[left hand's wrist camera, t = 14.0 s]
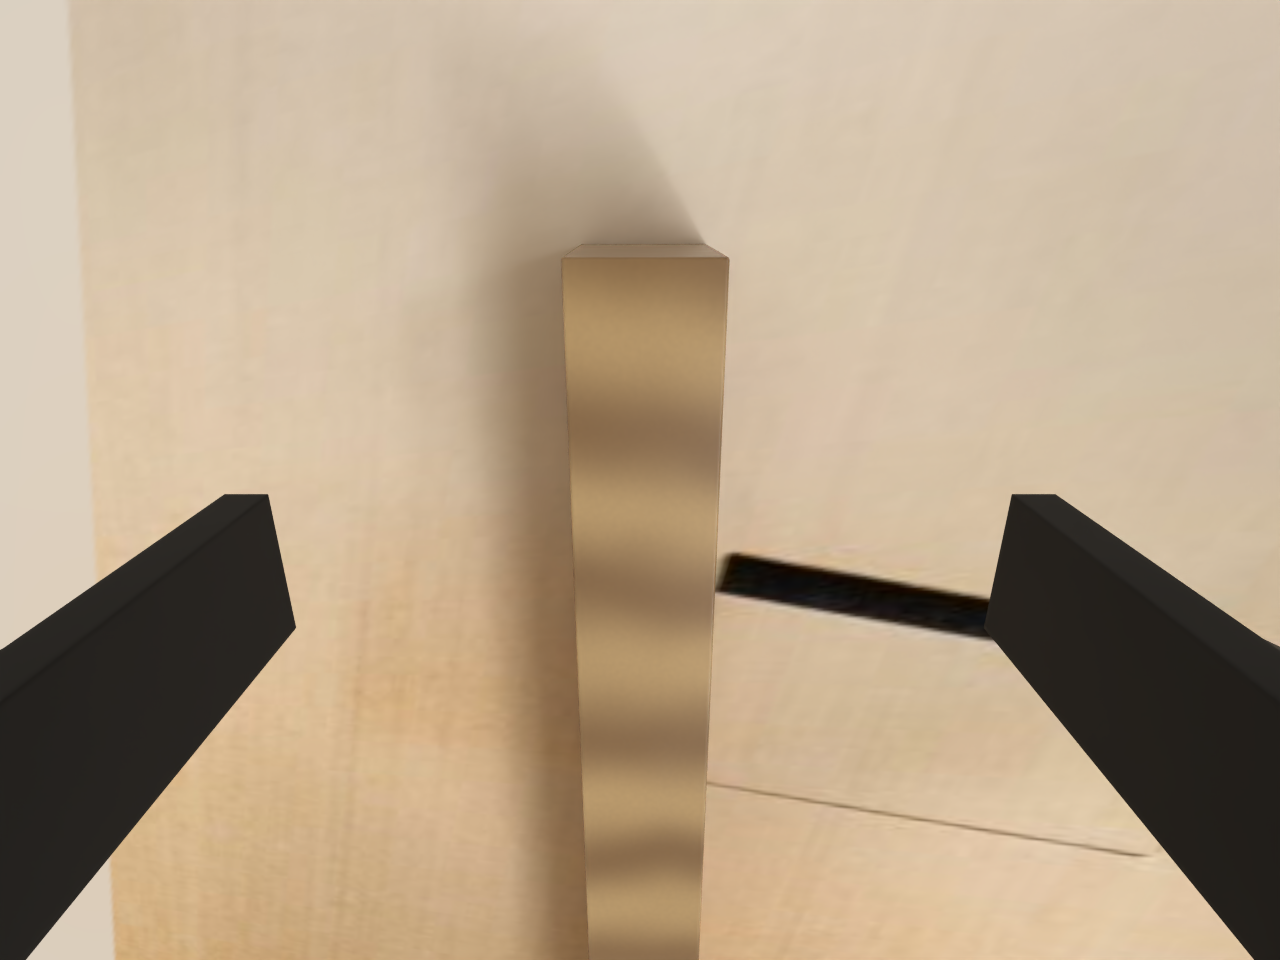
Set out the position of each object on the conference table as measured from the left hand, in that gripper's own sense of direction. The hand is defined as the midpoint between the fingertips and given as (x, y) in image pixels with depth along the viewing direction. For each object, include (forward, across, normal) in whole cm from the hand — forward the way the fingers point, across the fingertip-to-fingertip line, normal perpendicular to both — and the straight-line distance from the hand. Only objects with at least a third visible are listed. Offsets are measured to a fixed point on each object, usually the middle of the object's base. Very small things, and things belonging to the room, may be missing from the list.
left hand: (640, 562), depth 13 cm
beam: (+21, 0, -29) cm, 36 cm away
